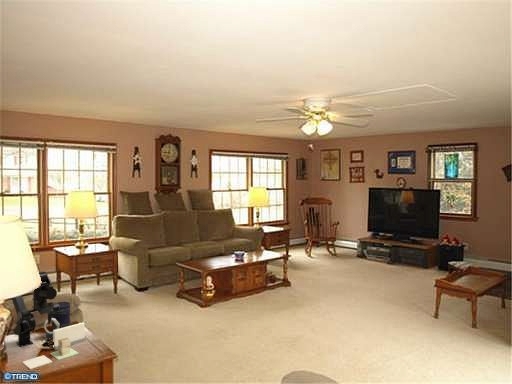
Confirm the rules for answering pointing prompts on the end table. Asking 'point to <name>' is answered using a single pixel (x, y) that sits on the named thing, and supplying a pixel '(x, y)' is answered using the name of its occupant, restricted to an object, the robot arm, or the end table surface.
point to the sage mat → (59, 356)
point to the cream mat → (37, 362)
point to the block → (64, 346)
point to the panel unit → (70, 334)
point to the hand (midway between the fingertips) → (39, 326)
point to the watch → (50, 333)
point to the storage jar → (62, 315)
